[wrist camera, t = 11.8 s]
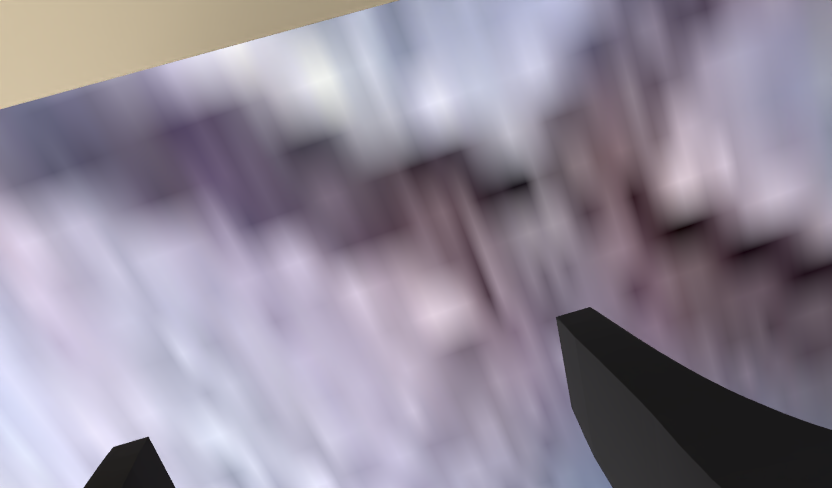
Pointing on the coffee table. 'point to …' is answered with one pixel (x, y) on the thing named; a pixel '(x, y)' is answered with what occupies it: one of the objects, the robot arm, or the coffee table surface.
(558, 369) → the coffee table surface
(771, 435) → the robot arm
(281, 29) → the carton
